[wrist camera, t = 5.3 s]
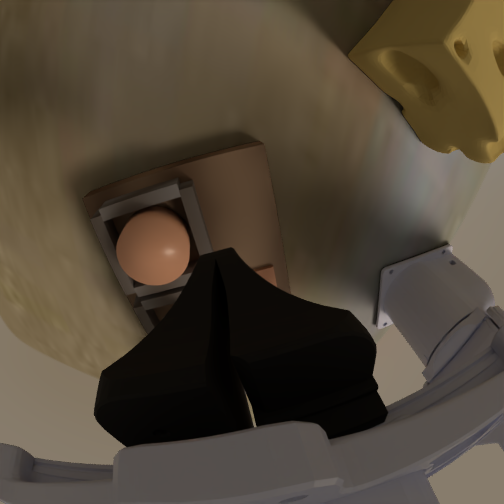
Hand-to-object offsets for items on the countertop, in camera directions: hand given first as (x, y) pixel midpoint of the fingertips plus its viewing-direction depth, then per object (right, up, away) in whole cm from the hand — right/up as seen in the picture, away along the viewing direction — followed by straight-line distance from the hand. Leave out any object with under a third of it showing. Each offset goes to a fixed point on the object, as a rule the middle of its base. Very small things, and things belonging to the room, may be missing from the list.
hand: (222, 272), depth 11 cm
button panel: (-2, -3, +12) cm, 13 cm away
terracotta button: (-5, +2, +7) cm, 8 cm away
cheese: (+14, +16, +5) cm, 22 cm away
